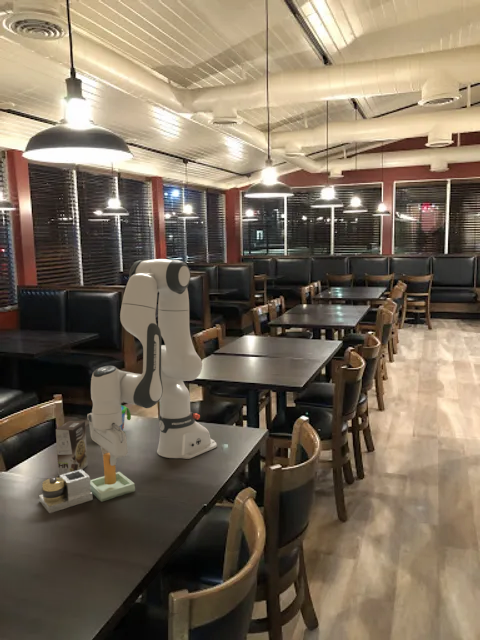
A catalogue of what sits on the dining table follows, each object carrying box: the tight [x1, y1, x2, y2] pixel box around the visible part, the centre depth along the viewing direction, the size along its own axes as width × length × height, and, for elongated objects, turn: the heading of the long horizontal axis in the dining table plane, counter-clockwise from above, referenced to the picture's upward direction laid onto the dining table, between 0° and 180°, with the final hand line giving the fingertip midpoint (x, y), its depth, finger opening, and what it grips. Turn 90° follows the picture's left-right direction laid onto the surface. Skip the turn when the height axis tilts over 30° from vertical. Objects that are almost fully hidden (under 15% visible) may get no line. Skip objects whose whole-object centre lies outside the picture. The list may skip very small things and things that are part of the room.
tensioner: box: [38, 469, 94, 514], centre depth 160 cm, size 13×9×8 cm
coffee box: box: [55, 420, 88, 476], centre depth 181 cm, size 9×6×16 cm
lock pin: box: [102, 453, 117, 485], centre depth 166 cm, size 4×4×9 cm
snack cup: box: [119, 404, 132, 431], centre depth 217 cm, size 16×10×10 cm
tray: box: [90, 471, 136, 502], centre depth 167 cm, size 11×11×2 cm
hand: (109, 462), depth 166 cm, fingers closed on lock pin, 3 cm apart
